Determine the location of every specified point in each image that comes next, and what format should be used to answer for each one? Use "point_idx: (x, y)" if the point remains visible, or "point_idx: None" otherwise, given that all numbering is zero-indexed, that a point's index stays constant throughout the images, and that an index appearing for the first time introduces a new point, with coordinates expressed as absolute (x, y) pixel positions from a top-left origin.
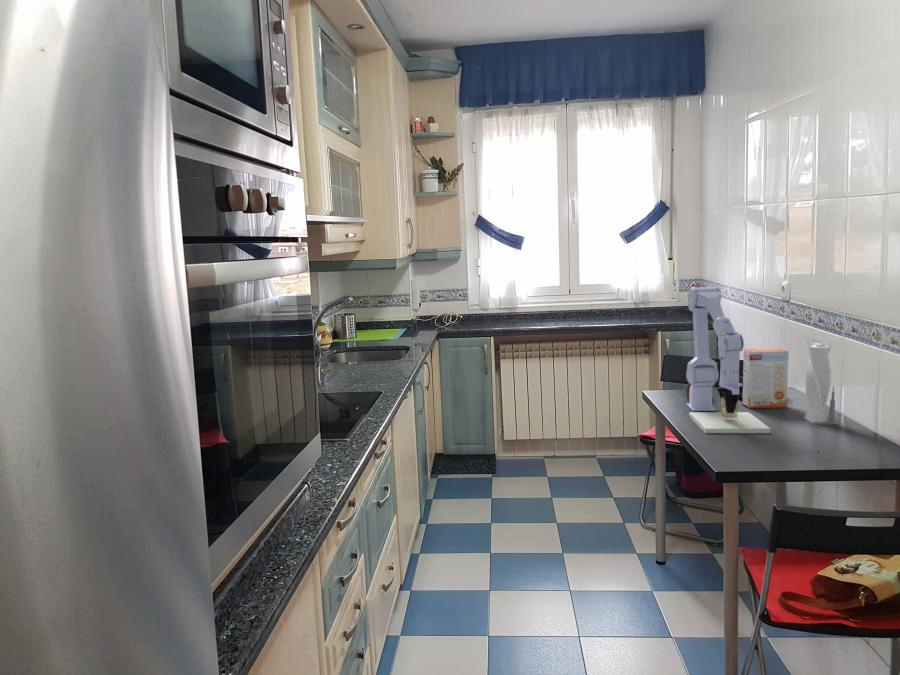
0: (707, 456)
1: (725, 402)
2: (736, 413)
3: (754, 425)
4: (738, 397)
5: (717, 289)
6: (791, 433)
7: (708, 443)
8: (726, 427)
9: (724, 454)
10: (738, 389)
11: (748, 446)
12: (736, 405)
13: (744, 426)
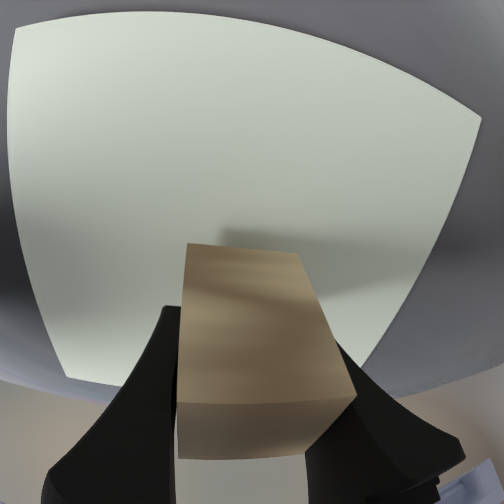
0: (466, 375)
1: None
2: (307, 283)
3: (413, 166)
4: (428, 432)
5: None
6: (482, 15)
7: (421, 372)
8: (373, 327)
9: (482, 350)
10: (498, 495)
11: (497, 289)
12: (331, 347)
13: (403, 239)
